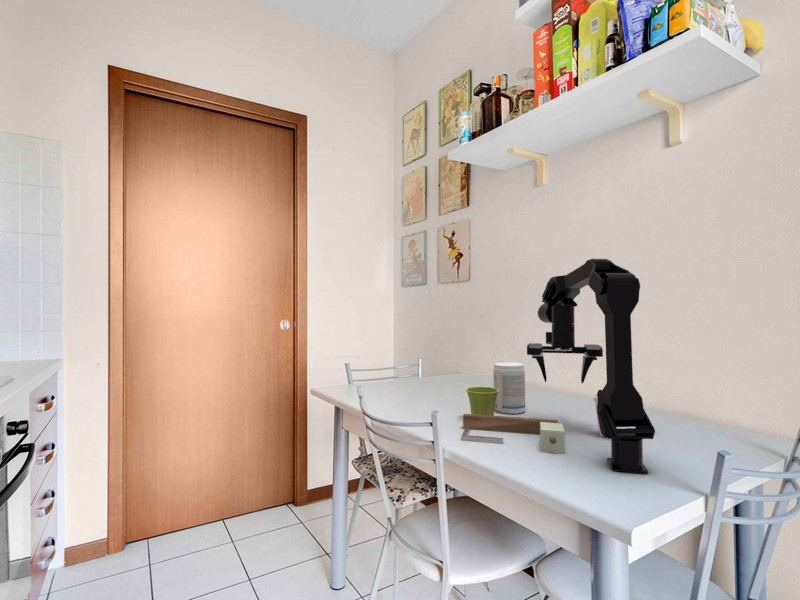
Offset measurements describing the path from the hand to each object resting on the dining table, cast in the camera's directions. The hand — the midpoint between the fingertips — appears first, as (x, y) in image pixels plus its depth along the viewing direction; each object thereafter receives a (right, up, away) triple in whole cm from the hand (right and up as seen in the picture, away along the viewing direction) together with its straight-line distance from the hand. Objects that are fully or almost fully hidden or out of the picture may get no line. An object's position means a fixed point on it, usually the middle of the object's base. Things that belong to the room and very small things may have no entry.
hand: (563, 382), depth 118 cm
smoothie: (+9, -13, -6) cm, 17 cm away
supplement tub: (-10, -13, +20) cm, 26 cm away
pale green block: (-9, -12, -16) cm, 22 cm away
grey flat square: (-23, -12, -6) cm, 26 cm away
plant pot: (-20, -13, +10) cm, 25 cm away
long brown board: (-15, -12, -2) cm, 20 cm away
